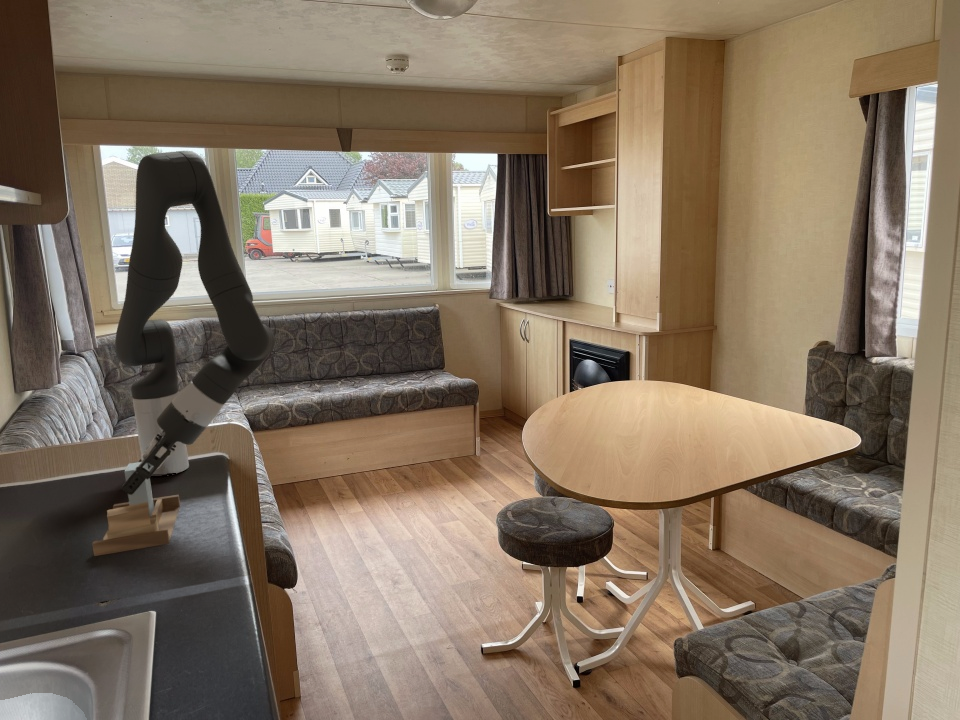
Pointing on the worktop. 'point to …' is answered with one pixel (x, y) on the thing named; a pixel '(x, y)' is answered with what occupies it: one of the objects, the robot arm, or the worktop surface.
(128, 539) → the rack
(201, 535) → the worktop surface
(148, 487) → the block
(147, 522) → the offcut top
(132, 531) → the offcut low
